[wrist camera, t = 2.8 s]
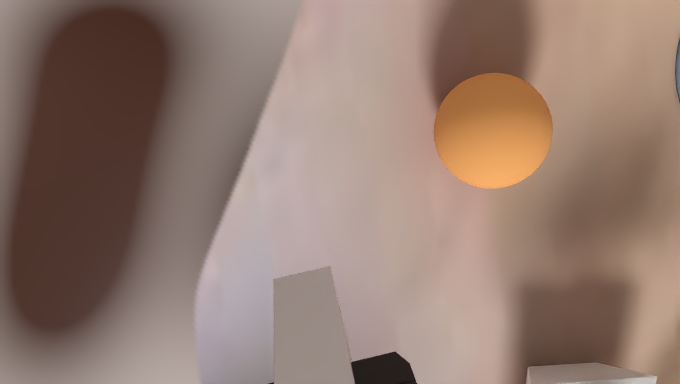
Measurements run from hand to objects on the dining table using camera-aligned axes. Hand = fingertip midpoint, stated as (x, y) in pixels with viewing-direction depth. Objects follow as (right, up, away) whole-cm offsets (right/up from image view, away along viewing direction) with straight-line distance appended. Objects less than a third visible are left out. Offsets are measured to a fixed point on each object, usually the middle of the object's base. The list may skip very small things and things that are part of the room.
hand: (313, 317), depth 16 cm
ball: (+8, +6, +13) cm, 16 cm away
